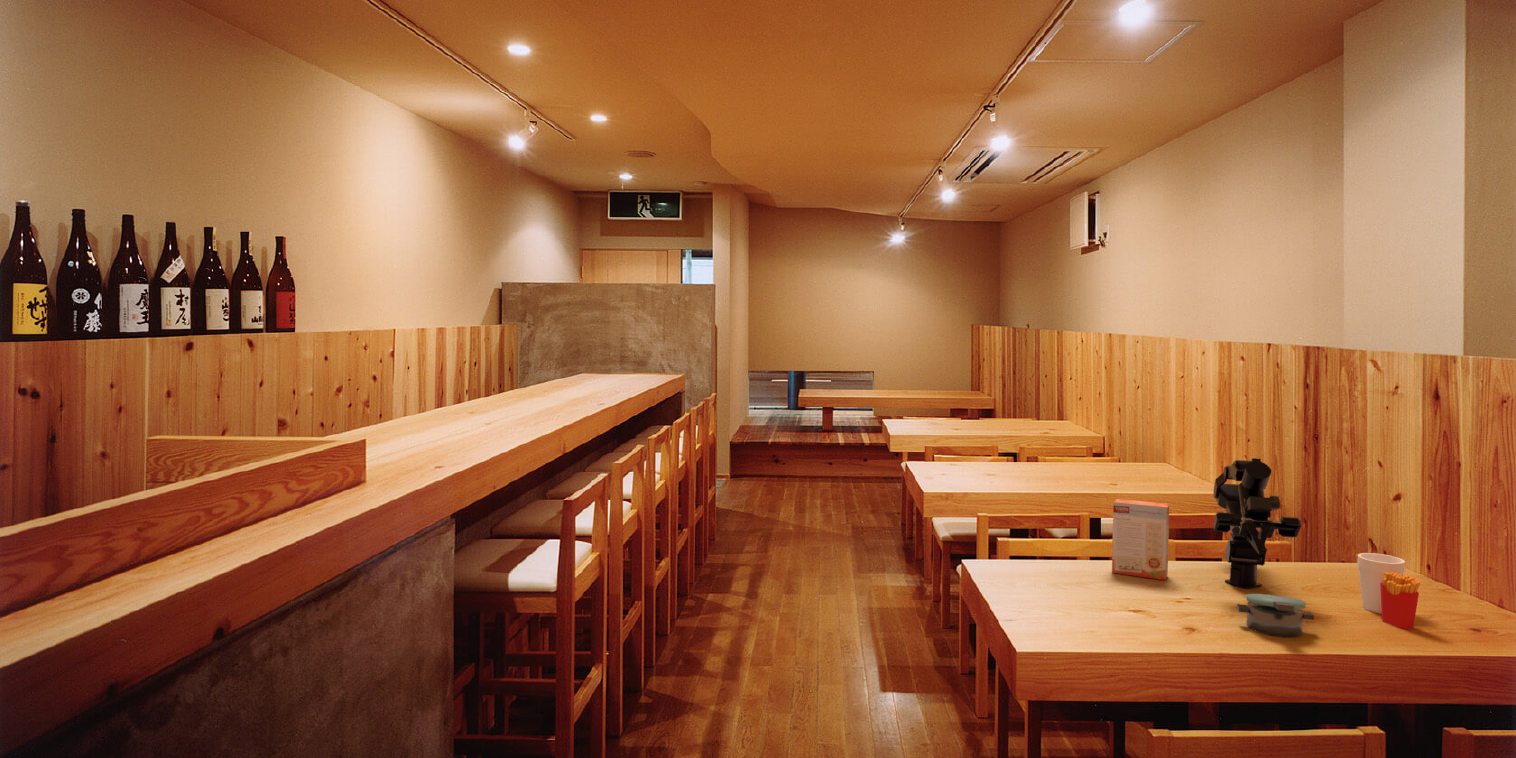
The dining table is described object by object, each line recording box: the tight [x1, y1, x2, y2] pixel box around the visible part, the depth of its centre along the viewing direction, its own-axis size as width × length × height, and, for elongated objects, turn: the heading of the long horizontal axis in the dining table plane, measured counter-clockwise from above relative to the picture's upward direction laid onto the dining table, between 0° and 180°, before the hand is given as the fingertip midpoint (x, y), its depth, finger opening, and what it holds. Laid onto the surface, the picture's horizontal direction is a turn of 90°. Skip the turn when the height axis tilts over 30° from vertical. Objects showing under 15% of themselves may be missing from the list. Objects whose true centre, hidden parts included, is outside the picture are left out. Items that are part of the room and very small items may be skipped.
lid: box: [1245, 593, 1306, 612], centre depth 187 cm, size 15×12×1 cm
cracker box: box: [1111, 498, 1170, 581], centre depth 230 cm, size 14×6×21 cm, turn 58°
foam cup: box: [1356, 552, 1406, 614], centre depth 202 cm, size 10×9×13 cm
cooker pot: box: [1236, 601, 1315, 638], centre depth 190 cm, size 12×15×5 cm
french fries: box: [1380, 572, 1421, 630], centre depth 192 cm, size 8×4×12 cm, turn 9°
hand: (1260, 553), depth 204 cm, fingers closed
